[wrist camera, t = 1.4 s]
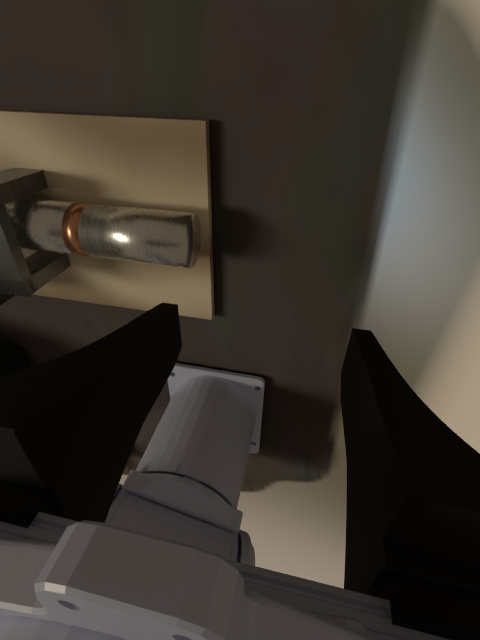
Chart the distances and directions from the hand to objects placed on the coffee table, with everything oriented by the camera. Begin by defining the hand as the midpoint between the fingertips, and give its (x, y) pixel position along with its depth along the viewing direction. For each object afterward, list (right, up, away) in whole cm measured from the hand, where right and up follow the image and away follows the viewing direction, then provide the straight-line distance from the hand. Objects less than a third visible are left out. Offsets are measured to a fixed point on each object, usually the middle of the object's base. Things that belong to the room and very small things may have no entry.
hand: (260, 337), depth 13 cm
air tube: (-9, +6, +7) cm, 13 cm away
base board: (-13, +7, +10) cm, 18 cm away
